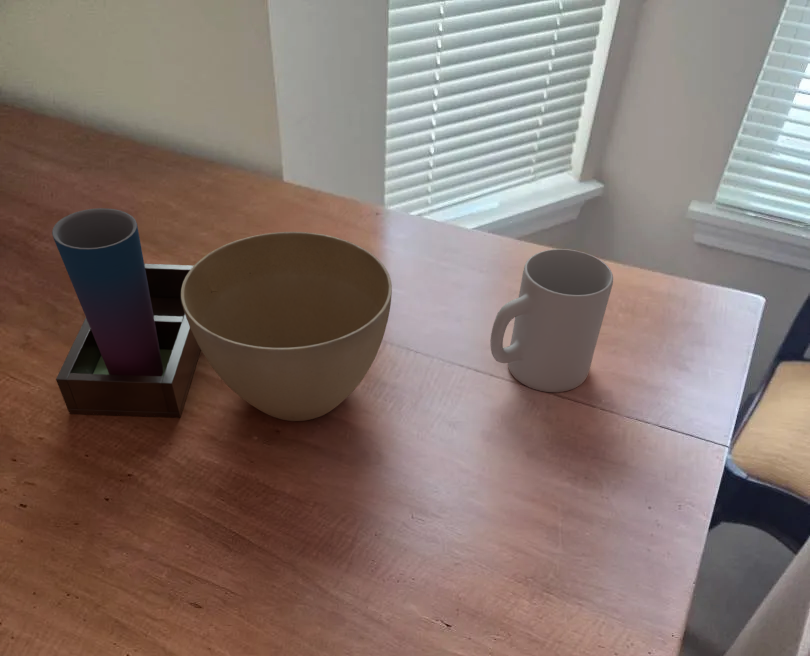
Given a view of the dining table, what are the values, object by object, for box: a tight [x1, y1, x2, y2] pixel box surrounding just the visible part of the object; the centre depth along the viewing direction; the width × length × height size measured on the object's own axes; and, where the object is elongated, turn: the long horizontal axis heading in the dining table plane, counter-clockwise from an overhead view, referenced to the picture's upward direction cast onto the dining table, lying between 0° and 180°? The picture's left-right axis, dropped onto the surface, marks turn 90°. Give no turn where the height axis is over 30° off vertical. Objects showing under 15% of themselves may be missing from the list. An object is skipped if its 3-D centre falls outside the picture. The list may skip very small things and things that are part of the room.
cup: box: [51, 207, 163, 376], centre depth 68 cm, size 7×7×15 cm
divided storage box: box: [55, 263, 202, 419], centre depth 76 cm, size 10×20×4 cm, turn 179°
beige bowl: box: [181, 231, 393, 422], centre depth 70 cm, size 18×18×12 cm
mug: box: [490, 248, 614, 393], centre depth 74 cm, size 12×8×11 cm
